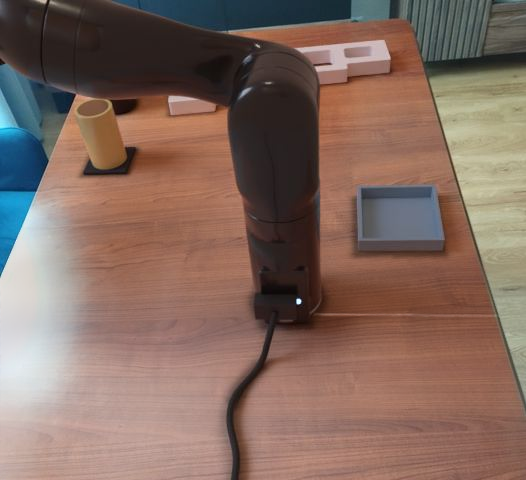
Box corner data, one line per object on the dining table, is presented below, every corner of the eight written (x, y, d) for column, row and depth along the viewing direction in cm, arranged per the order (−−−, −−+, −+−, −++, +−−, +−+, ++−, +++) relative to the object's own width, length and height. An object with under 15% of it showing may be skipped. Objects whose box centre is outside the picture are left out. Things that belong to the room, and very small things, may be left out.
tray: (442, 253, 86) (445, 239, 84) (358, 254, 87) (358, 240, 85) (433, 197, 94) (435, 184, 92) (356, 199, 95) (357, 185, 93)
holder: (383, 52, 126) (384, 39, 124) (397, 94, 115) (398, 81, 112) (177, 72, 128) (174, 59, 126) (170, 115, 117) (167, 102, 115)
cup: (130, 148, 109) (115, 97, 102) (122, 169, 105) (106, 117, 97) (97, 149, 110) (79, 98, 102) (87, 170, 106) (68, 118, 98)
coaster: (126, 174, 105) (125, 171, 105) (83, 174, 106) (82, 172, 106) (135, 148, 110) (135, 146, 110) (95, 150, 111) (94, 147, 111)
